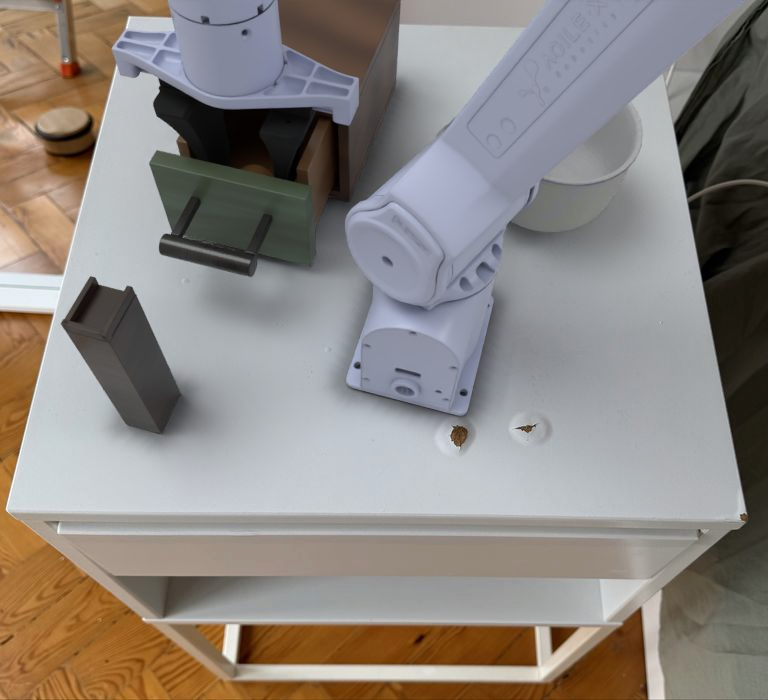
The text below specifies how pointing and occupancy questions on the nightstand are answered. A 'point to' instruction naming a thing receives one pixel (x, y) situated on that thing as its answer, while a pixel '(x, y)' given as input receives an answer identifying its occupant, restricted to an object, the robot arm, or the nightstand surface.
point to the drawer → (246, 197)
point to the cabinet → (349, 65)
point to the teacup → (585, 177)
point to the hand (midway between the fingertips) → (253, 176)
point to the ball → (257, 170)
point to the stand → (123, 354)
